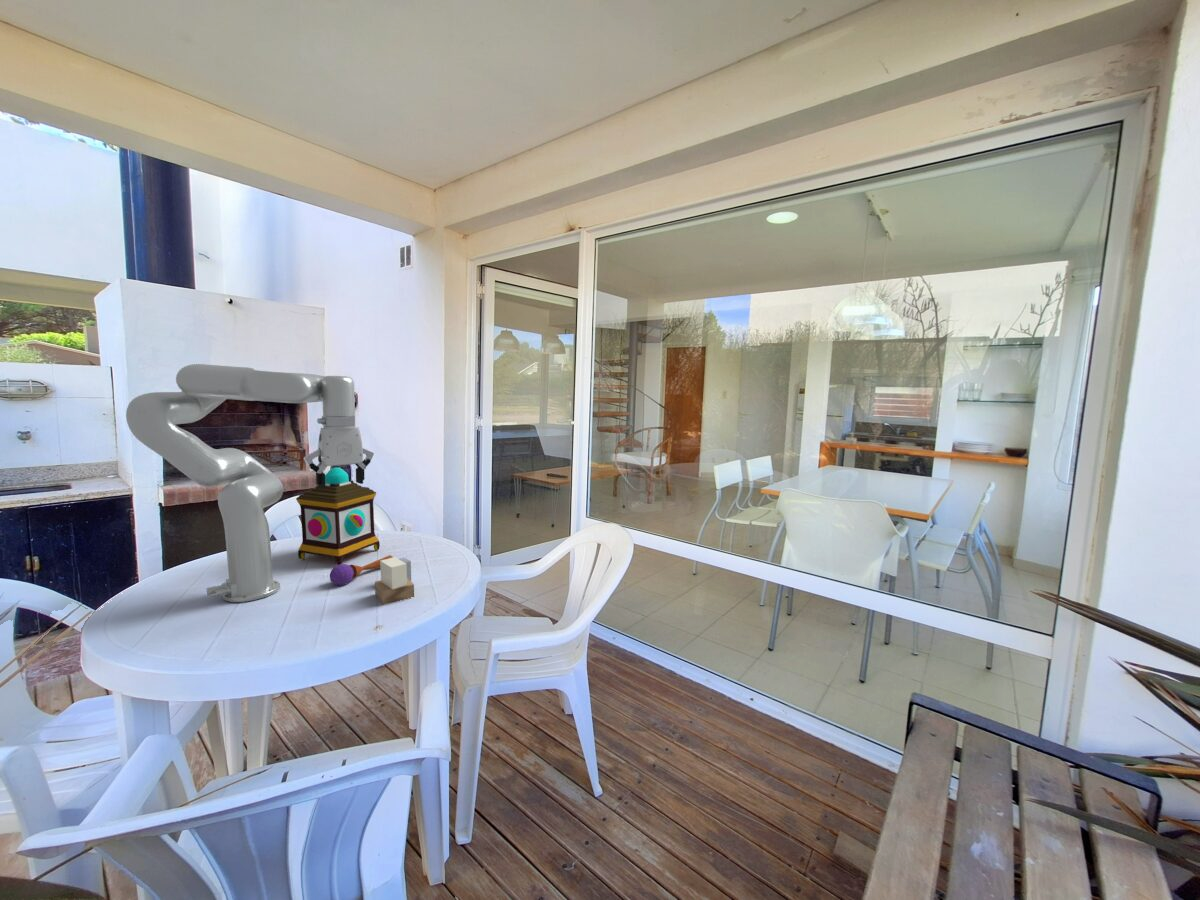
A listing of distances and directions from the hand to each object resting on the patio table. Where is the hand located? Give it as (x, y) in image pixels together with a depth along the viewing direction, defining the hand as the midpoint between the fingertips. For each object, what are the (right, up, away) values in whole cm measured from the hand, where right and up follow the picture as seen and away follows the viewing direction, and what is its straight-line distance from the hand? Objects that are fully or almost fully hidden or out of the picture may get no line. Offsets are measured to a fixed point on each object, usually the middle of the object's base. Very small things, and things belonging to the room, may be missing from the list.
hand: (341, 485), depth 128 cm
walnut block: (+14, -31, 0) cm, 34 cm away
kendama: (-1, -29, +14) cm, 32 cm away
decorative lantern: (-17, -26, +31) cm, 44 cm away
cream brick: (+15, -27, 0) cm, 30 cm away
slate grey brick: (+11, -29, +10) cm, 33 cm away
